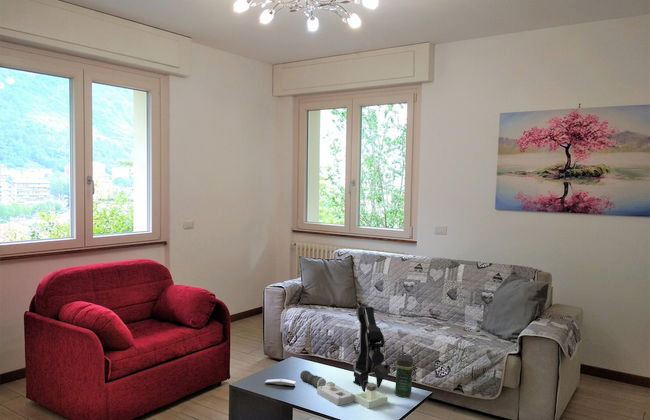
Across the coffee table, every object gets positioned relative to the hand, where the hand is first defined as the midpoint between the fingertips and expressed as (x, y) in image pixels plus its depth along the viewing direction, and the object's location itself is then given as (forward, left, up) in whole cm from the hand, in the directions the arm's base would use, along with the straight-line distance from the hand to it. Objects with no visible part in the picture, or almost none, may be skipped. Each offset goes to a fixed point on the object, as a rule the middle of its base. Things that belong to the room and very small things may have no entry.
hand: (371, 389), depth 237 cm
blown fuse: (0, 0, -5) cm, 5 cm away
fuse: (+11, -17, -6) cm, 21 cm away
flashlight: (+11, -32, -6) cm, 34 cm away
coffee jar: (-21, +1, -6) cm, 22 cm away
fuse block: (+11, -13, -6) cm, 18 cm away
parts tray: (0, 0, -6) cm, 6 cm away
